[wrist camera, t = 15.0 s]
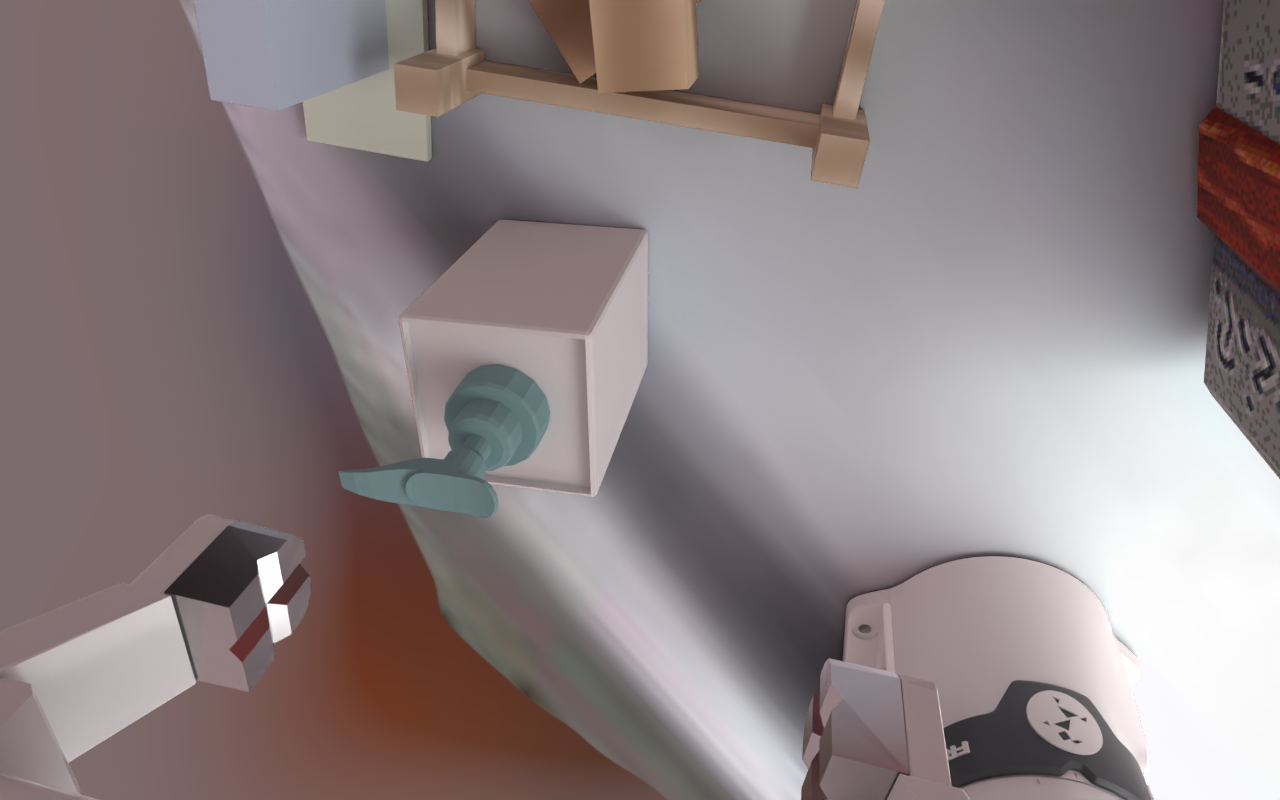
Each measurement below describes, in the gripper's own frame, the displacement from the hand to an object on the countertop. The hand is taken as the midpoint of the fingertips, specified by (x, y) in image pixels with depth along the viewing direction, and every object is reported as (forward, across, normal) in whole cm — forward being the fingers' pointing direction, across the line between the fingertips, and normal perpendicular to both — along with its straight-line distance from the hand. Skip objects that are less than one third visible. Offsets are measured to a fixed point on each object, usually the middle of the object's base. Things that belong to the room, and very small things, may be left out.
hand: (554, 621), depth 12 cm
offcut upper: (+31, +5, -6) cm, 32 cm away
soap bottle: (+33, +8, +11) cm, 36 cm away
